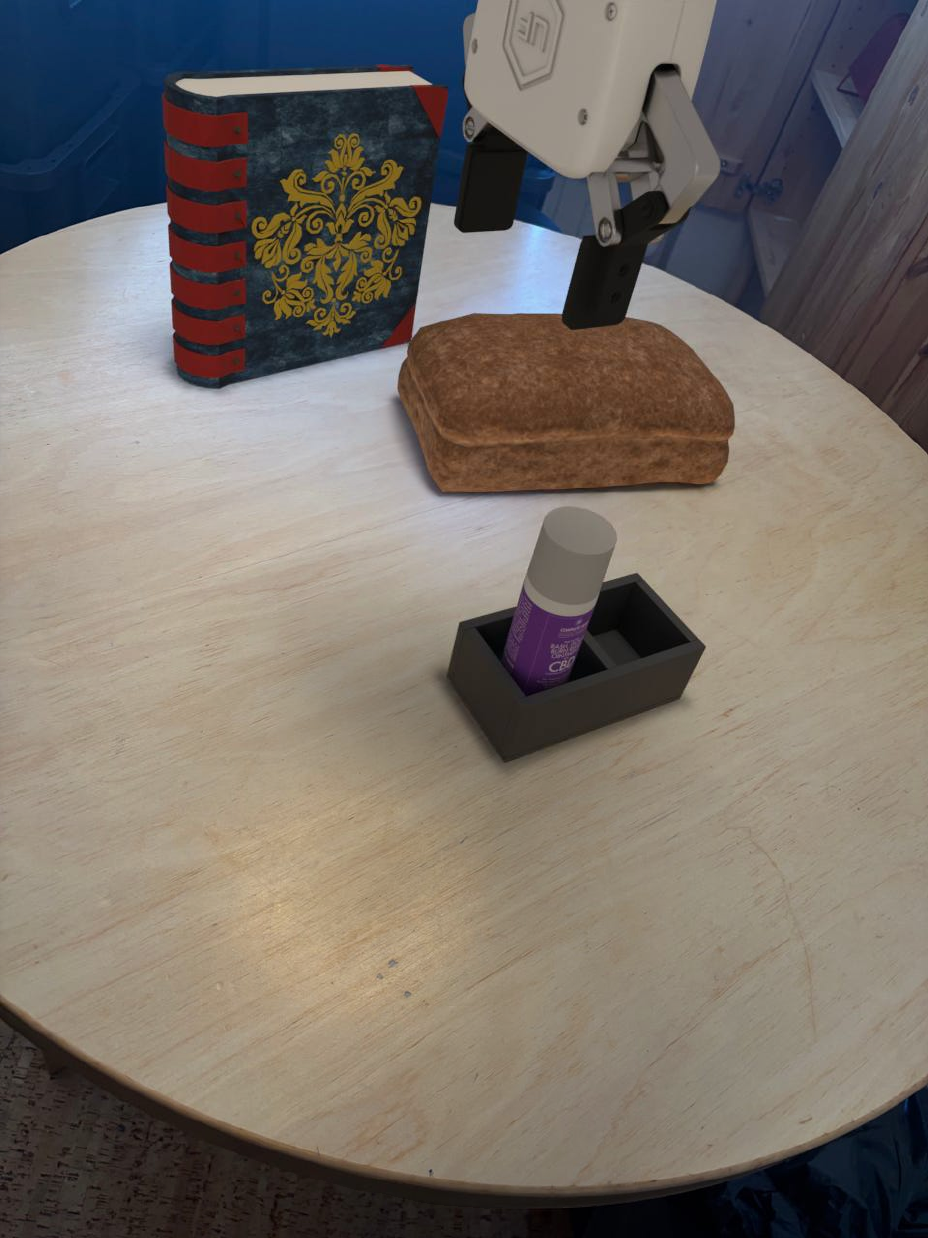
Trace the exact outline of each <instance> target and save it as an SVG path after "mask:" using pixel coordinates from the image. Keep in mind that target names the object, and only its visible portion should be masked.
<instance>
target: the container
mask: <svg viewBox="0 0 928 1238" xmlns="http://www.w3.org/2000/svg"><path fill="white" fill-rule="evenodd" d="M617 540H618V537H617V531H616V529H615V528H614V526H613V524H611V522H610V521H609V520H608V519H606V518H605V517H604V516H602V515H601V514H599V513H598V512H595V511H594V510H591V509H588V508H584V507H580V506H571V505H570V506H569V505H568V506H561V507H557V508H554V509H552V510H550V511H549V512H548V513H547V514H546V515H545V516H544V517H543V521H542V524H541V528H540V531H539V534H538V537H537V540H536V543H535V546H534V549H533V553H532V556H531V559H530V561H529V564H528V568H527V570H526V574H525V576H524V578H523V583H522V586H521V589H520V593H519V597H518V600H517V603H516V606H517V607H516V606H515V607H516V610H515V614H514V617H513V621H512V624H511V628H510V631H509V635H508V638H507V641H506V645H505V648H504V652H503V655H502V659H501V663H502V665H503V666H504V667H505V669H506V670H507V671H508V673H509V674H510V676H511V677H512V678H513V680H514V681H515V682H516V684H517V685H518V686H519V688H520V689H521V690H522V692H523V693H524V695H525V696H526V697H527V696H530V695H533V694H536V693H539V692H542V691H545V690H548V689H551V688H554V687H557V686H560V685H563V684H566V683H567V681H568V678H569V675H570V672H571V670H572V667H573V664H574V662H575V659H576V656H577V654H578V651H579V648H580V645H581V643H582V640H583V637H584V635H585V632H586V629H587V627H588V624H589V621H590V618H591V616H592V613H593V610H594V608H595V605H596V602H597V599H598V596H599V593H600V589H601V586H602V583H603V582H604V580H605V577H606V574H607V571H608V568H609V565H610V562H611V559H612V556H613V553H614V550H615V547H616V544H617V542H618V541H617Z"/></svg>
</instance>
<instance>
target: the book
mask: <svg viewBox="0 0 928 1238" xmlns="http://www.w3.org/2000/svg"><path fill="white" fill-rule="evenodd" d="M413 70H414V66H413V65H411V64H410V63H409V64H375V65H356V66H355V65H354V66H330V67H329V66H328V67H327V66H325V67H297V68H296V67H295V68H267V69H266V68H265V69H239V70H212V71H208V70H207V71H181V70H180V71H178V70H177V71H174V72H172V73H169V74H167V75H166V76H165V78H164V92H163V93H162V94H161V96H162V97H161V99H162V100H161V101H162V118H163V119H162V120H163V129H164V131H165V132H166V138H165V139H164V140H163V144H164V146H163V147H164V164H165V173H166V175H167V177H168V181H167V182H166V184H165V189H166V191H165V192H166V208H167V216H168V218H169V219H170V220H169V221H170V222H169V223H168V225H167V232H168V236H167V237H168V253H169V257H170V258H171V261H170V262H169V276H170V277H169V278H170V294H172V298H171V299H170V303H171V304H170V305H171V321H172V329H173V330H174V332H173V333H172V347H173V362H174V364H176V366H175V367H176V371H177V374H178V376H179V377H180V378H181V379H182V380H183V381H185V382H187V383H189V384H191V385H193V386H197V387H200V388H201V387H202V388H208V389H221V388H223V387H225V386H228V385H230V384H235V383H239V382H243V381H248V380H253V379H257V378H260V377H265V376H270V375H274V374H277V373H281V372H286V371H291V370H294V369H299V368H302V367H307V366H312V365H315V364H320V363H325V362H329V361H332V360H333V361H334V360H337V359H342V358H345V357H350V356H354V355H358V354H359V355H360V354H362V353H367V352H371V351H375V350H381V349H386V348H391V347H394V346H395V347H396V346H399V345H400V346H401V345H403V344H406V343H409V342H410V341H411V340H412V338H413V331H414V323H415V315H416V309H417V301H418V294H419V288H420V287H419V286H420V280H421V274H422V273H421V272H422V266H423V261H424V260H423V259H424V252H425V246H426V239H427V233H428V232H427V231H428V225H429V218H430V212H431V204H432V198H433V193H434V185H435V177H436V170H437V164H438V157H439V151H440V142H441V136H442V131H443V126H444V121H445V115H446V110H447V104H448V103H447V102H448V99H449V92H448V87H449V86H448V85H446V84H445V83H438V84H437V83H436V84H433V83H431V82H429V81H427V80H426V79H424V78H422V77H421V76H419V75H417V74H415V73H414V71H413Z"/></svg>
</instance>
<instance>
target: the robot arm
mask: <svg viewBox="0 0 928 1238" xmlns="http://www.w3.org/2000/svg"><path fill="white" fill-rule="evenodd" d="M717 2H718V0H477V5H476V10H475V11H474V12H473V13H471V14H469V15H467V16H466V17H465V18H464V21H463V25H462V35H463V51H464V53H463V54H464V67H465V70H464V72H463V75H462V79H461V86H462V89H463V94H464V98H465V103H466V108H467V113H466V115H465V116H464V118H463V121H462V135H463V138H464V139H465V141H466V142H468V143H469V144H466V146H465V150H464V151H465V152H464V159H463V164H462V170H461V176H460V182H459V189H458V194H457V201H456V207H455V211H454V212H455V213H454V217H453V224H454V227H455V228H456V229H457V230H458V231H459V232H461V233H462V234H463V233H464V234H468V233H470V234H471V233H489V232H502V231H504V232H506V231H508V230H511V228H512V227H513V225H514V223H515V222H514V221H515V217H516V212H517V207H518V202H519V198H520V193H521V188H522V184H523V178H524V175H525V169H526V164H527V159H528V153H529V154H530V155H532V156H533V157H534V158H536V159H538V161H540V162H542V164H544V165H546V166H547V167H549V168H550V169H552V170H553V171H555V172H556V173H557V174H559V175H561V176H563V177H565V178H569V179H585V178H586V183H587V189H588V194H589V202H590V209H591V214H592V220H593V228H594V233H595V234H590V235H589V234H588V235H583V236H582V239H581V241H580V243H579V248H578V251H577V255H576V259H575V263H574V266H573V269H572V270H573V271H572V273H571V278H570V282H569V286H568V288H567V289H568V290H567V293H566V297H565V300H564V303H563V304H564V305H563V309H562V313H561V314H562V322H563V324H564V325H566V326H567V327H568V328H569V329H570V330H579V329H587V328H595V327H604V326H612V325H618V324H620V323H621V322H622V321H623V320H624V319H625V317H627V314H628V310H629V308H630V304H631V301H632V297H633V293H634V291H635V287H636V284H637V282H638V278H639V275H640V272H641V268H642V265H643V263H644V259H645V255H646V252H647V249H648V246H649V244H657V243H659V242H661V241H662V239H664V236H665V234H666V233H667V232H669V231H671V230H672V229H675V227H677V226H679V225H681V224H683V223H684V222H685V221H686V220H687V219H688V217H689V215H690V212H691V207H694V206H695V205H696V204H697V203H698V202H699V200H700V199H701V198H702V197H703V195H704V194H705V193H706V192H707V191H708V189H709V188H710V187H711V186H712V184H713V183H714V182H715V181H716V180H717V178H718V176H719V175H720V172H721V164H722V163H721V159H720V156H719V154H718V152H717V150H716V148H715V147H714V144H713V142H712V140H711V138H710V136H709V133H708V132H707V130H706V128H705V126H704V123H703V122H702V120H701V117H700V115H699V114H698V111H697V109H696V108H695V106H694V103H693V101H692V100H693V96H694V93H695V89H696V85H697V82H698V79H699V76H700V71H701V67H702V65H703V60H704V56H705V52H706V49H707V46H708V45H707V44H708V40H709V37H710V32H711V28H712V23H713V19H714V15H715V11H716V10H715V9H716V5H717ZM470 143H472V144H470ZM661 173H662V174H661ZM659 174H661V176H660V175H659ZM618 183H629V185H630V192H631V193H630V194H631V199H632V201H630V202H629V203H627V204H626V205H625V206H624V207H622V205H621V197H620V192H619V185H618Z"/></svg>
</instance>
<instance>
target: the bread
mask: <svg viewBox="0 0 928 1238" xmlns="http://www.w3.org/2000/svg"><path fill="white" fill-rule="evenodd" d="M406 355H407V356H406V357H405V359H404V360H403V362H402V363H401V366H400V369H399V372H398V377H397V391H398V395H399V399H400V401H401V403H402V405H403V407H404V409H405V412H406V414H407V416H408V417H409V420H410V422H411V423H412V426H413V429H414V431H415V434H416V437H417V439H418V442H419V445H420V449H421V452H422V455H423V457H424V459H425V464H426V467H427V470H428V472H429V474H430V477H431V478H432V480H433V481H434V482H435V483H436V485H437V486H438V487H439V489H440V490H441V492H467V493H470V492H471V493H472V492H474V493H475V492H476V493H478V492H479V493H480V492H483V493H484V492H513V491H514V492H516V491H532V490H533V491H534V490H567V489H578V488H579V489H580V488H581V489H582V488H583V489H586V488H604V487H617V486H618V487H620V486H634V485H642V484H649V483H650V484H651V483H684V484H694V485H704V484H710V483H711V484H712V483H714V482H715V481H716V480H717V479H718V478H719V477H720V476H721V475H723V473H724V470H725V469H726V466H727V465H728V463H729V456H730V444H729V439H730V438H731V437H733V435H734V432H735V427H736V416H735V408H734V407H735V406H734V403H733V402H732V399H731V397H730V396H729V394H728V392H727V390H726V389H725V386H723V384H722V383H721V381H720V380H719V379H718V378H717V376H715V375H714V374H713V372H712V371H711V370H710V369H709V367H708V366H707V365H706V364H705V363H704V361H703V360H702V359H701V358H700V356H698V354H697V353H696V352H695V350H694V349H693V348H692V347H691V346H690V345H689V344H688V343H687V342H685V340H683V339H682V338H681V337H679V336H678V335H677V334H676V333H674V332H673V331H672V330H670V329H669V328H667V327H666V326H664V325H662V324H659V323H657V322H653V321H648V320H645V319H639V318H634V317H628V316H626V317H625V319H624V320H623V321H622V322H621V323H620V324H618V325H612V326H604V327H595V328H587V329H579V330H570V329H569V328H568V327H567V326H566V325H564V324H563V322H562V313H553V312H551V313H549V312H547V313H541V312H540V313H539V312H537V313H535V312H534V313H533V312H532V313H531V312H530V313H529V312H528V313H526V312H525V313H524V312H523V313H521V312H520V313H519V312H518V313H486V312H485V313H483V312H482V313H481V312H473V313H470V314H466V315H462V316H458V317H455V318H450V319H445V320H441V321H438V322H435V323H434V322H433V323H431V324H427V325H424V326H420V327H419V328H418V330H417V331H416V333H415V334H414V335H413V336H412V338H411V341H410V342H408V345H407V350H406Z"/></svg>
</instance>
